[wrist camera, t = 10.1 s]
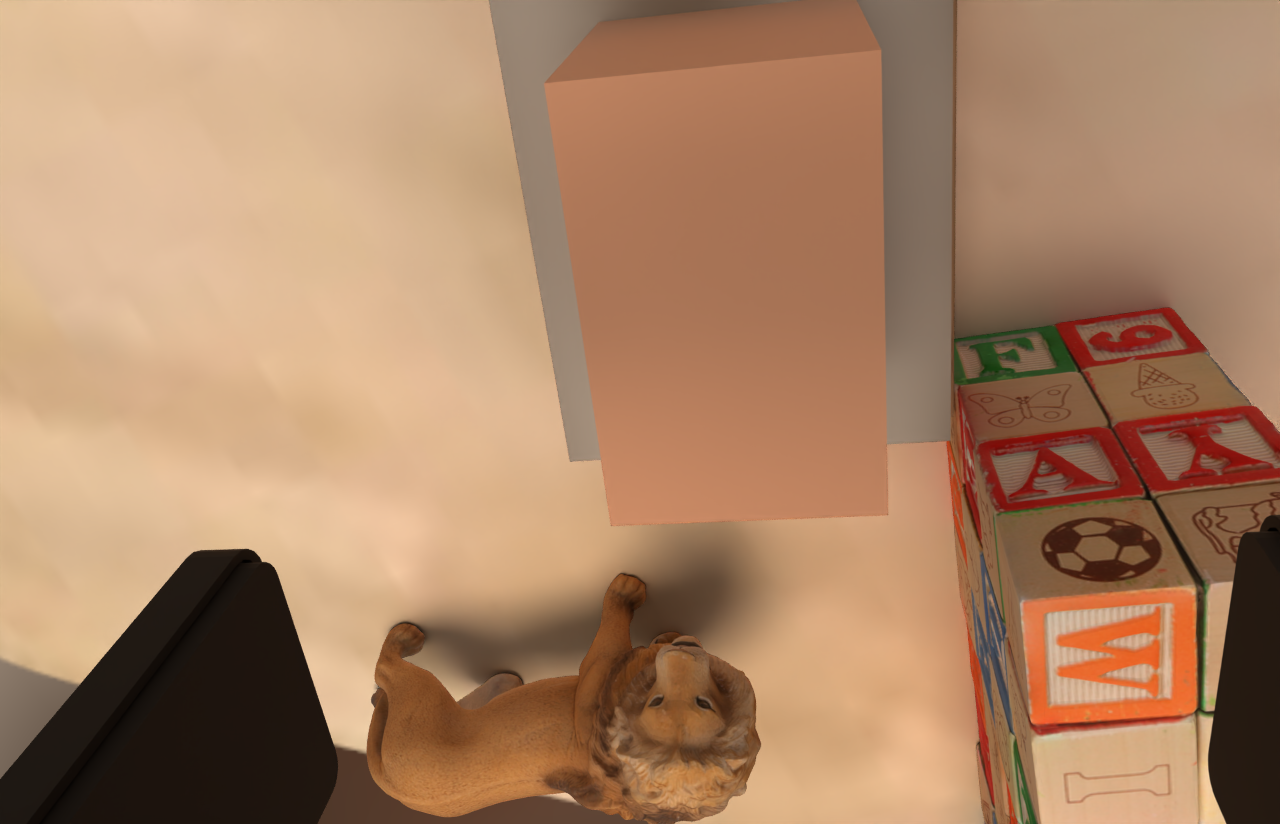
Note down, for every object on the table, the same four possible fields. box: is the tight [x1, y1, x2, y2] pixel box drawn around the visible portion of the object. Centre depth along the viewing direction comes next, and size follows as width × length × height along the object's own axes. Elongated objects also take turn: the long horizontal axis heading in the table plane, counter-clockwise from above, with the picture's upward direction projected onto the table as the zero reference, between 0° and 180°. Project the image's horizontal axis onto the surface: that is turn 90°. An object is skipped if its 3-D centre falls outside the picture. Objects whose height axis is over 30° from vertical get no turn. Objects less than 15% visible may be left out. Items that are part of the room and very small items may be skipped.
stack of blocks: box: [947, 308, 1280, 824], centre depth 29 cm, size 21×6×12 cm, turn 12°
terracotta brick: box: [544, 0, 888, 526], centre depth 21 cm, size 5×8×6 cm, turn 7°
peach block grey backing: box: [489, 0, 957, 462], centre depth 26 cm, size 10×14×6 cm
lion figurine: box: [367, 574, 761, 824], centre depth 33 cm, size 15×5×9 cm, turn 117°
